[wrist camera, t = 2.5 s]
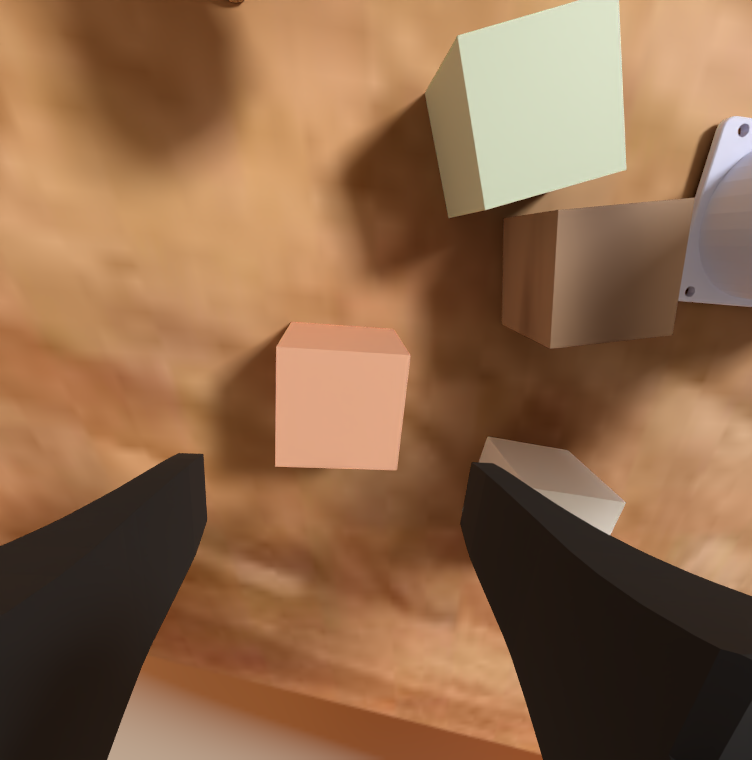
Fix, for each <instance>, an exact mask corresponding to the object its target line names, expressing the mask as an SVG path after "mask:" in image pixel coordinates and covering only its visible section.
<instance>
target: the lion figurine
mask: <svg viewBox="0 0 752 760" xmlns="http://www.w3.org/2000/svg"><path fill="white" fill-rule="evenodd" d="M228 1H230V2H233V3H238V2H242V1H244V0H228Z"/></svg>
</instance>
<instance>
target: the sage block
mask: <svg viewBox="0 0 752 760" xmlns="http://www.w3.org/2000/svg"><path fill="white" fill-rule="evenodd" d="M425 97H426V103H427V108H428V113H429V118H430V124H431V129H432V134H433V139H434V145H435V150H436V155H437V160H438V166H439V171H440V176H441V181H442V187H443V192H444V197H445V202H446V208H447V213H448V218H452V217H456V216H461V215H465V214H470V213H475V212H479V211H484V210H488V209H491V208H495V207H498V206H502V205H505V204H509V203H512V202H516V201H519V200H523V199H526V198H530V197H533V196H537V195H540V194H543V193H547V192H550V191H554V190H557V189H561V188H564V187H568V186H571V185H575V184H578V183H582V182H585V181H589V180H592V179H596V178H599V177H603V176H606V175H610V174H613V173H617V172H620V171H624V170H626V152H625V129H624V106H623V83H622V61H621V38H620V15H619V0H579V1H575V2H572V3H568V4H565V5H561V6H558V7H555V8H551V9H548V10H544V11H541V12H537V13H534V14H530V15H527V16H524V17H520V18H517V19H513V20H510V21H506V22H503V23H499V24H496V25H493V26H489V27H486V28H482V29H479V30H475V31H472V32H468V33H465V34H462V35H458V36H457V37H456V39H455V41H454V43H453V44H452V46H451V48H450V50H449V51H448V53H447V55H446V57H445V58H444V60H443V62H442V64H441V65H440V67H439V69H438V71H437V72H436V74H435V76H434V78H433V79H432V81H431V83H430V85H429V86H428V88H427V90H426V92H425Z"/></svg>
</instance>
